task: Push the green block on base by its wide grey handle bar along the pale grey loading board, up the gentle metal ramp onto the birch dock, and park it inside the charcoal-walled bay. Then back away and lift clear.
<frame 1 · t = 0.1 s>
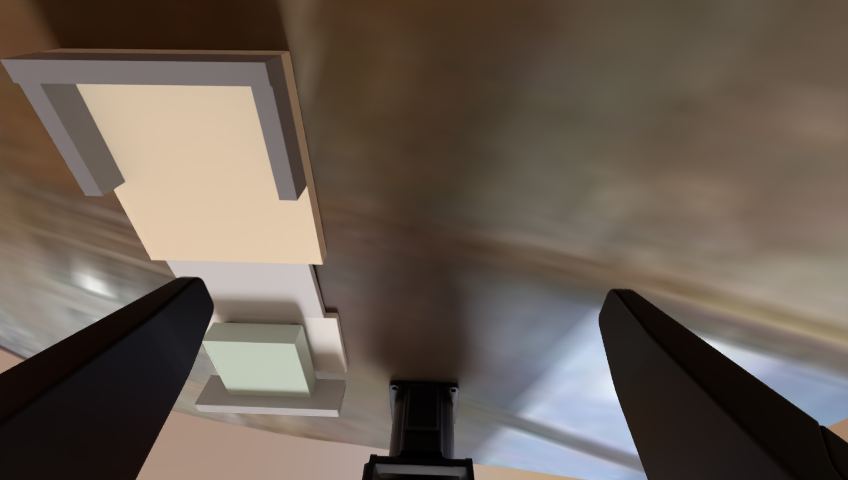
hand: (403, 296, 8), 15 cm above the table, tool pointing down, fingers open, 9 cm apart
green block on base: (271, 344, 31), point 1 cm above the table, touching dock
dock: (240, 240, 26), on the table
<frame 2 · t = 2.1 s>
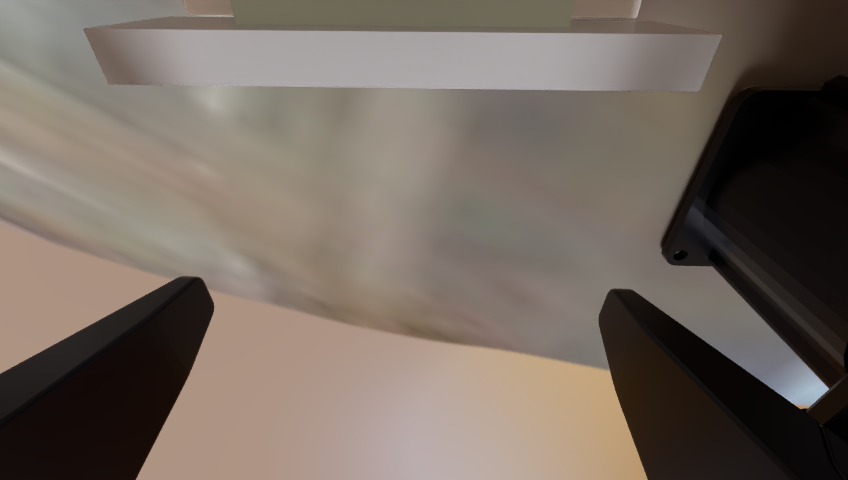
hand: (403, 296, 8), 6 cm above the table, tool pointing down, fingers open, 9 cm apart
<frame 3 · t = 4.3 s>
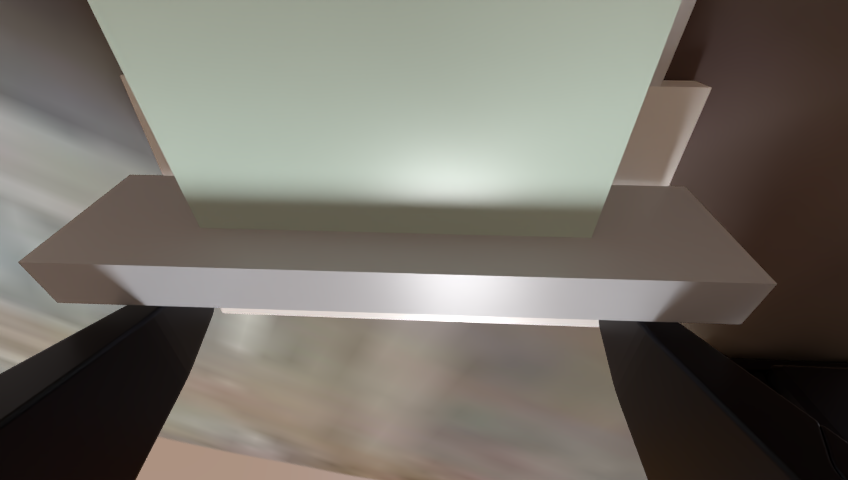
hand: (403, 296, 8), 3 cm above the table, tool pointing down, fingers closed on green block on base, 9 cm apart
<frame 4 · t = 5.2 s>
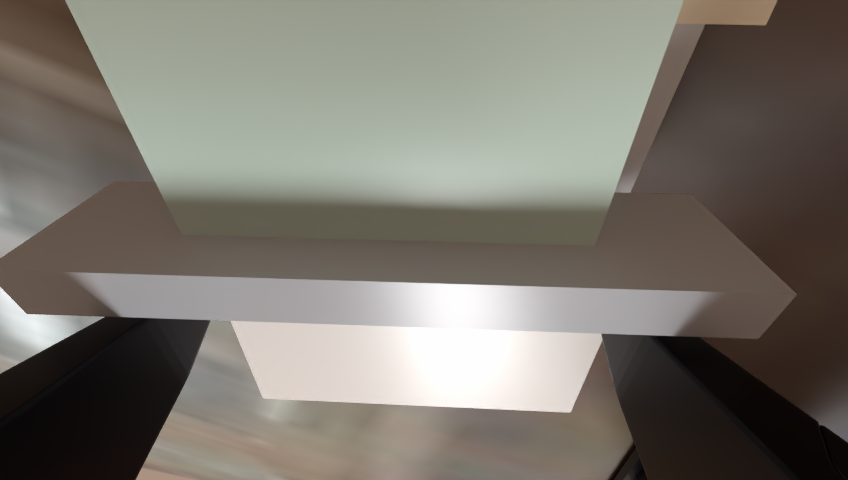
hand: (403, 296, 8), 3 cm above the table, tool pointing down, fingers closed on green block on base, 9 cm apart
when the fingers open (3 cm above the table, at t = 6.0 s): green block on base stays where it is, point 1 cm above the table.
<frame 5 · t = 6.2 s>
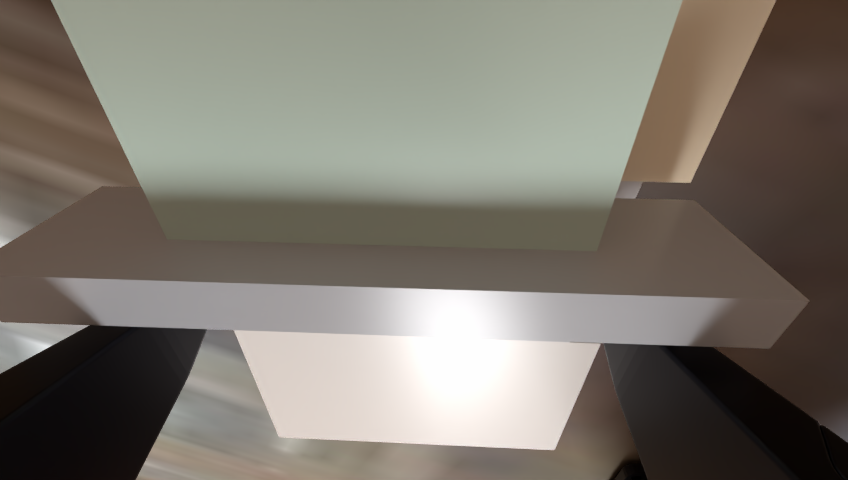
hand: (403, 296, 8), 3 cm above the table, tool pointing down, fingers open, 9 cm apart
dock: (414, 113, 8), on the table
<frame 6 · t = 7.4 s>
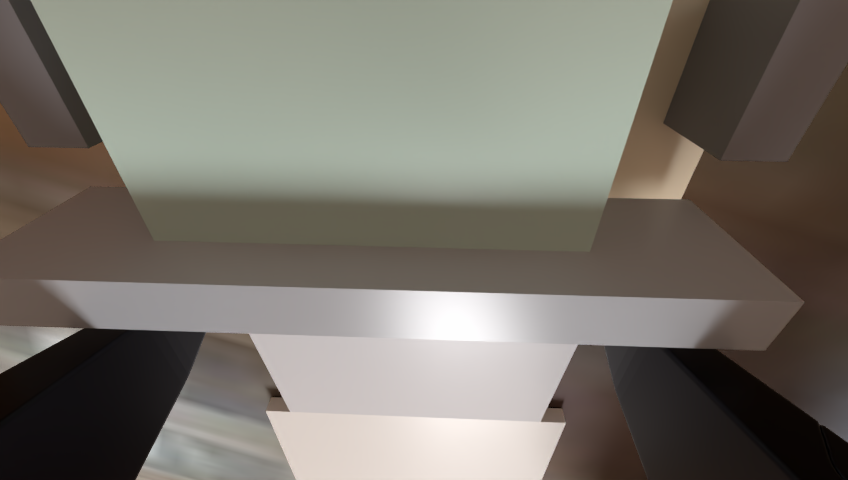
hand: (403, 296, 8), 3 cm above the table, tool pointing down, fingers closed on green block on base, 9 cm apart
dock: (412, 272, 11), on the table
when the fingers open (3 cm above the table, at t = 7.7 s): green block on base stays where it is, resting on dock.
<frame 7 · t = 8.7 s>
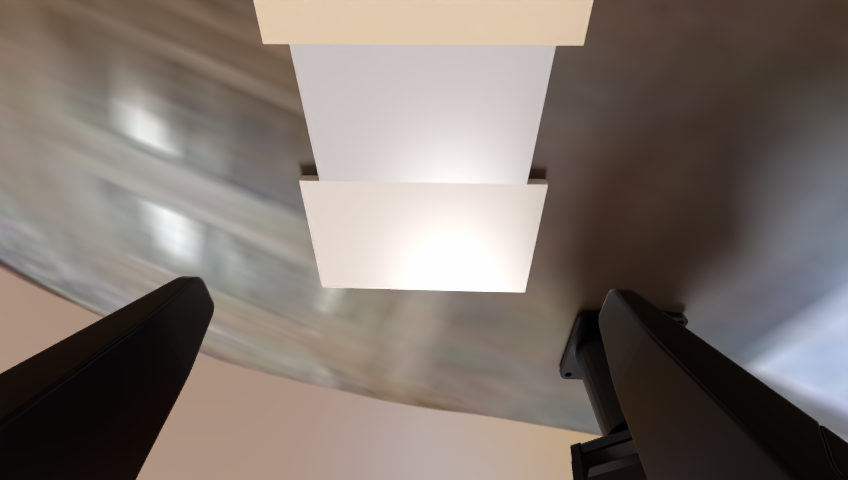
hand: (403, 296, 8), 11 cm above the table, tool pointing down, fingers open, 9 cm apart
dock: (422, 11, 14), on the table
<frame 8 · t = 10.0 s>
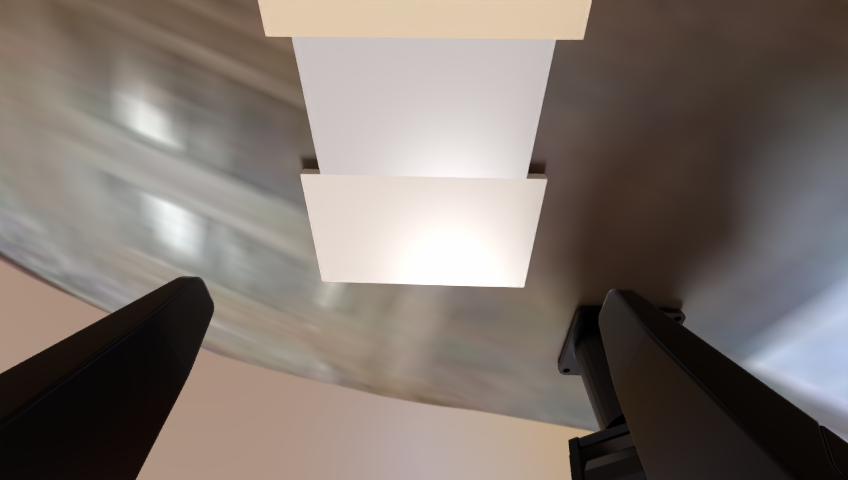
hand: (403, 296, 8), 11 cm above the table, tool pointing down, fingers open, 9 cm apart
dock: (423, 4, 14), on the table
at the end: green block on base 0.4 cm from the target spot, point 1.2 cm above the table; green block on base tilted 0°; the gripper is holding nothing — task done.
